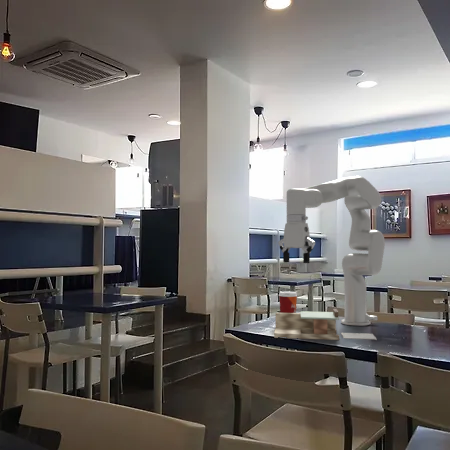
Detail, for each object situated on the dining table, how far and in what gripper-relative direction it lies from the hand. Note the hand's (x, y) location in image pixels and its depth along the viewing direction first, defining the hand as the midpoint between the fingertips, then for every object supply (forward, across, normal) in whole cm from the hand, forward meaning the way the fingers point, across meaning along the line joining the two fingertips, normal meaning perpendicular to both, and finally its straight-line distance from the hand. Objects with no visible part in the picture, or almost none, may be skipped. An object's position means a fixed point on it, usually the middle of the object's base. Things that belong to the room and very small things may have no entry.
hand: (296, 262), depth 186 cm
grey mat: (+28, -20, -13) cm, 37 cm away
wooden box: (+28, -4, -1) cm, 29 cm away
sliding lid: (+21, -8, -4) cm, 22 cm away
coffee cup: (+29, +12, -11) cm, 33 cm away
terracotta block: (+28, -9, -3) cm, 30 cm away
